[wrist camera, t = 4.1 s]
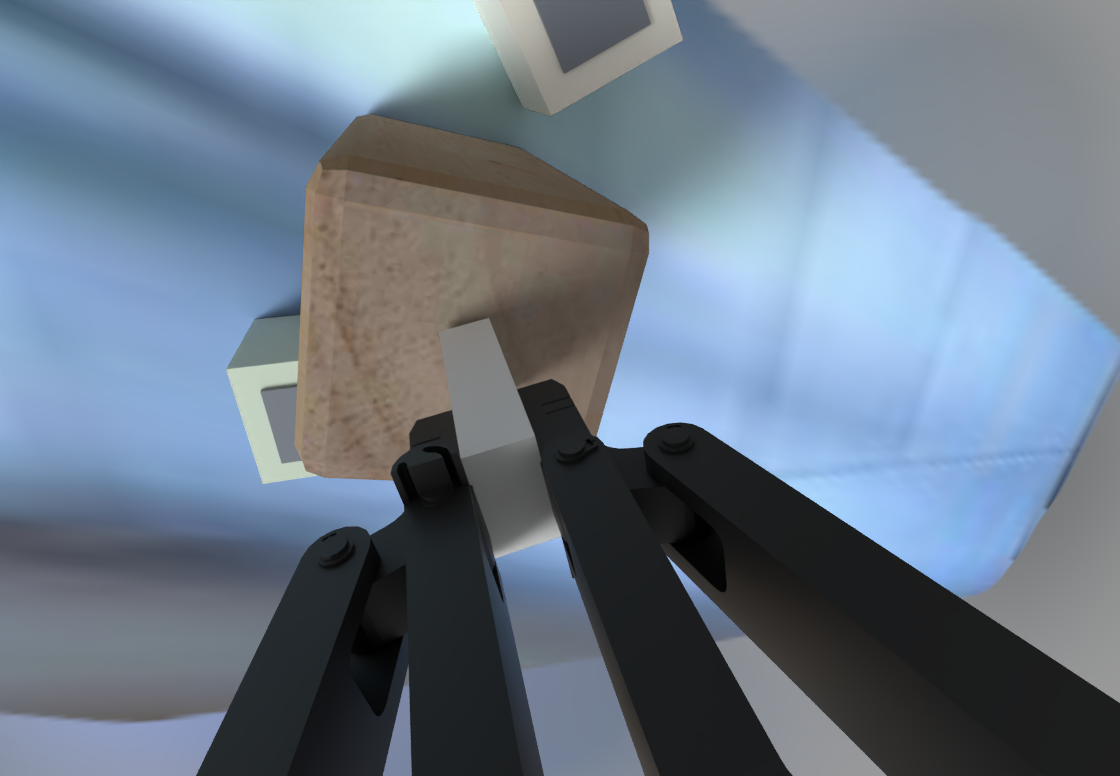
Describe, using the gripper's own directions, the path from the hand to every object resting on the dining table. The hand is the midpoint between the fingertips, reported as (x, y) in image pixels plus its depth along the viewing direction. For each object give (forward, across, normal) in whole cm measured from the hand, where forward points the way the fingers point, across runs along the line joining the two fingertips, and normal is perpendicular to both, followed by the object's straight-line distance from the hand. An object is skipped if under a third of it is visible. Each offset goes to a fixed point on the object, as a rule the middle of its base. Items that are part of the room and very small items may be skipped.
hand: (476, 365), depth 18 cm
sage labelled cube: (+20, -9, -7) cm, 23 cm away
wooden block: (+21, 0, 0) cm, 21 cm away
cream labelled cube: (+20, +9, +9) cm, 24 cm away
